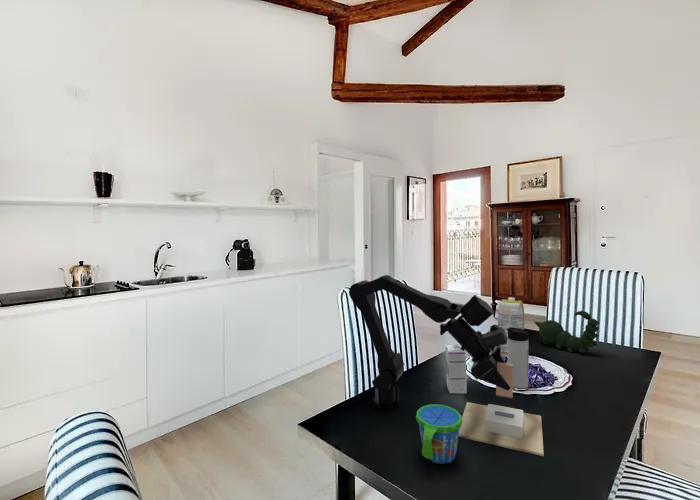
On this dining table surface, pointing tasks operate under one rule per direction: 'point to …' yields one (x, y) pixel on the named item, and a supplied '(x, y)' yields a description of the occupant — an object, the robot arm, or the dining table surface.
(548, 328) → the toy figurine
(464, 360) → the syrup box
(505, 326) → the juice carton
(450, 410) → the snack cup
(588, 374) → the dining table surface
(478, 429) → the base board
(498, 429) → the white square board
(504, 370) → the salmon pink flat block
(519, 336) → the travel mug
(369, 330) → the robot arm
